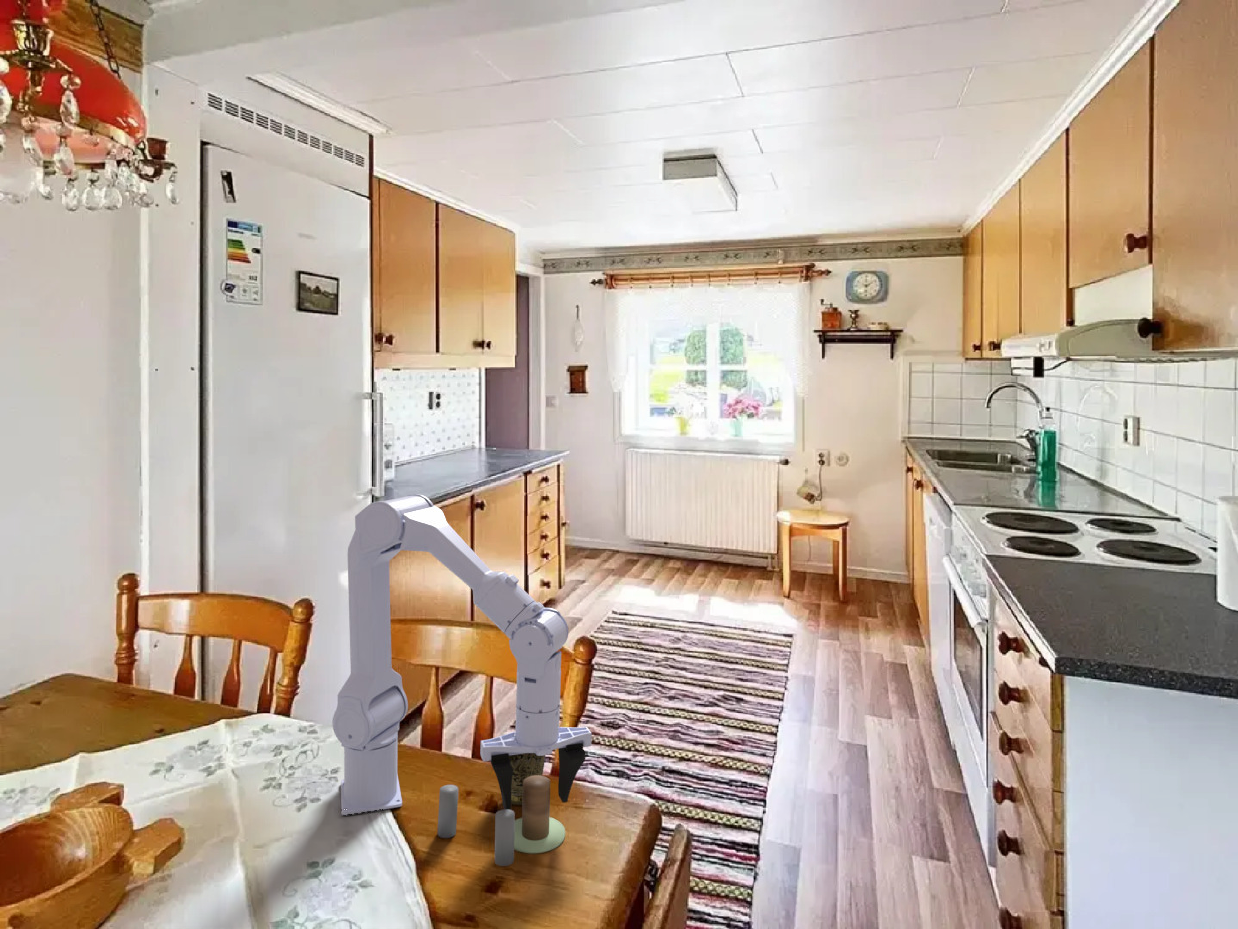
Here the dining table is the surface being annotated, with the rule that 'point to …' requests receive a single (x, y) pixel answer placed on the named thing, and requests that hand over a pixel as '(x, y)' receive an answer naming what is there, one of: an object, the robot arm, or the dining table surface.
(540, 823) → the dowel
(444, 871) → the dining table surface
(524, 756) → the cup
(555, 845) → the coaster
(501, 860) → the post
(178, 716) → the dining table surface
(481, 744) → the robot arm
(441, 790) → the post
